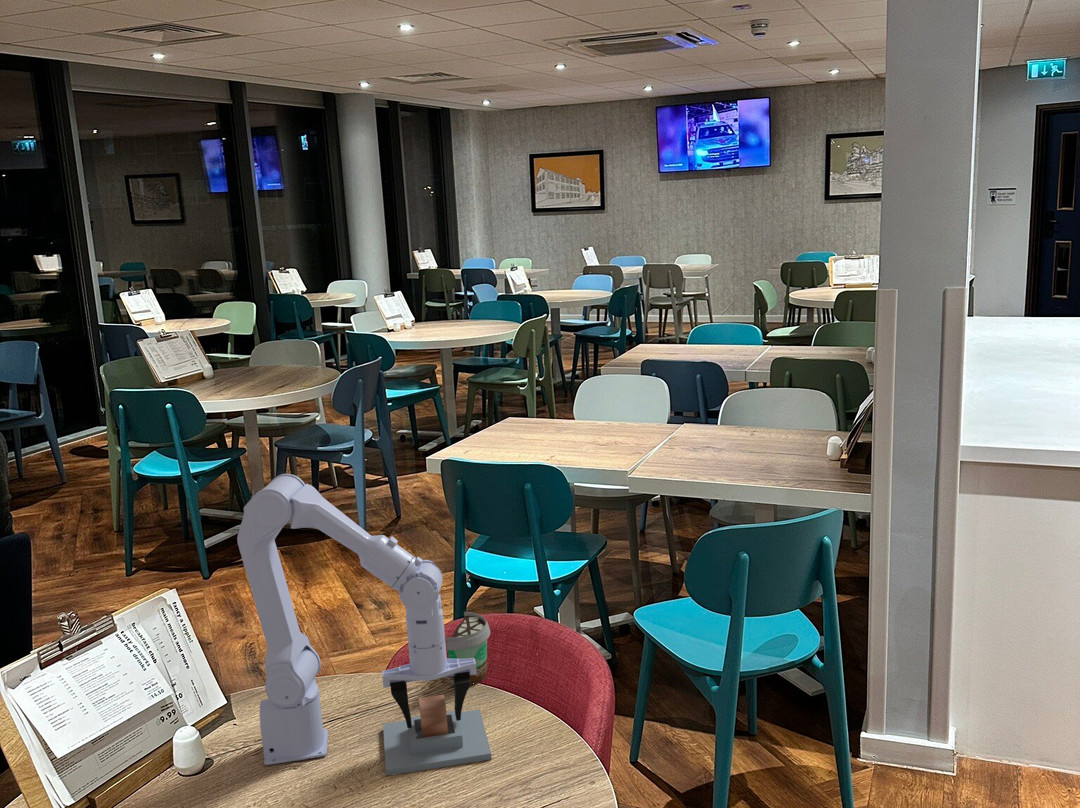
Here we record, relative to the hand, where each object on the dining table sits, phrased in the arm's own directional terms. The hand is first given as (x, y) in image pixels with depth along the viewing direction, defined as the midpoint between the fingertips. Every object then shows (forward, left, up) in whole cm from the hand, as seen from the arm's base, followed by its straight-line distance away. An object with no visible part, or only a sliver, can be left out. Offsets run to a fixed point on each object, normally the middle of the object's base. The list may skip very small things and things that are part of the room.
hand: (433, 721), depth 151 cm
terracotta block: (0, 0, -3) cm, 3 cm away
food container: (+9, +21, -4) cm, 23 cm away
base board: (0, 0, -4) cm, 4 cm away
